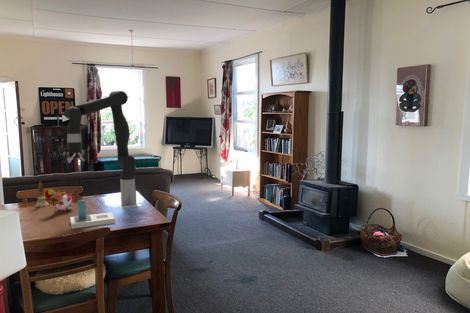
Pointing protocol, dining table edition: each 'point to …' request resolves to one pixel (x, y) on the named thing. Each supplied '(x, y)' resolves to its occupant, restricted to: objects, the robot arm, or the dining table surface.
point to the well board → (94, 220)
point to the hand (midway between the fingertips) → (75, 168)
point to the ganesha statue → (59, 199)
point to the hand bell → (41, 197)
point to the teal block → (82, 209)
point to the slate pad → (82, 219)
